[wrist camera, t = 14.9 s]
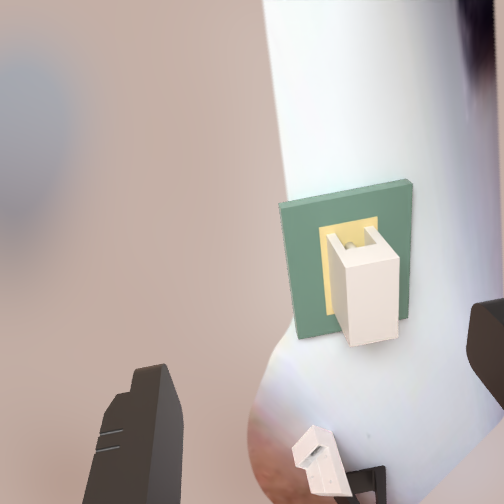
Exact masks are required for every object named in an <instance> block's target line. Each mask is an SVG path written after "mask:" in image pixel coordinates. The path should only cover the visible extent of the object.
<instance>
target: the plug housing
mask: <svg viewBox="0 0 504 504" xmlns="http://www.w3.org/2000/svg"><path fill="white" fill-rule="evenodd" d="M326 240H327V252H328V265H329V277H330V290H331V303H332V309H333V311H334V313H335V316H336V318H337V320H338V322H339V324H340V327H341V329H342V331H343V333H344V335H345V338H346V340H347V342H348V344H349V346H350V347H354V346H359V345H364V344H369V343H374V342H380V341H385V340H390V339H395V338H398V316H399V266H400V257H399V256H398V255H397V254H396V253H395V251H394V250H393V249H392V248H391V247H390V245H389V244H388V243H387V242H386V241H385V239H384V238H383V237H382V236H381V235H380V233H379V232H378V231H377V230H376V229H375V227H374V226H369V227H364V244H365V246H362V247H357V248H352V249H347V250H346V249H345V248H344V246H343V245H342V243H341V242H340V240H339V238H338V237H337V235H336V234H335V233H333V234H327V235H326Z"/></svg>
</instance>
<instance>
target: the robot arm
mask: <svg viewBox="0 0 504 504" xmlns="http://www.w3.org/2000/svg"><path fill="white" fill-rule="evenodd" d="M466 352H467V357H468V360H469V363H470V365H471V367H472V369H473V371H474V372H475V373H476V375H477V376H478V377H479V379H480V380H481V381H482V383H483V384H484V385H485V386H486V388H487V389H488V390H489V392H490V393H491V394H492V395H493V397H494V398H495V399H496V401H497V402H498V403H499V404H500V406H501V407H502V408H503V410H504V298H501V299H496V300H490V301H485V302H480V303H476V304H474V305H473V306H472V308H471V314H470V322H469V330H468V338H467V346H466ZM183 428H184V425H183V414H182V408H181V404H180V401H179V398H178V395H177V393H176V390H175V387H174V384H173V381H172V379H171V376H170V373H169V370H168V368H167V366H166V364H159V365H154V366H149V367H144V368H139V369H136V370H135V371H134V374H133V379H132V384H131V389H130V392H126V393H121V394H117V395H116V396H115V398H114V399H113V401H112V402H111V404H110V406H109V407H108V408H107V410H106V412H105V413H104V417H103V421H102V425H101V429H100V437H98V441H97V445H96V454H94V458H93V462H92V466H91V470H90V475H89V478H88V482H87V486H86V490H85V494H84V499H83V502H82V504H180V499H181V477H182V454H183V430H184V429H183Z"/></svg>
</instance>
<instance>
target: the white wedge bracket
mask: <svg viewBox="0 0 504 504" xmlns="http://www.w3.org/2000/svg"><path fill="white" fill-rule="evenodd" d="M292 451H293V456H294V461H295V465H296V467H299V468H302V469H306V473H307V478H308V482H309V486H310V491H311V493H313V494H316V495H320V496H351V497H353V496H352V493H351V490H350V486H349V483H348V480H347V477H346V474H345V471H344V467H343V464H342V461H341V458H340V455H339V452H338V448H337V445H336V442H335V439H334V436H333V433H332V431H329V430H326V429H323V428H320V427H317V426H315V425H313V426H312V427H311V428H310V429H309V430H308V431H307V432H306V433H305V434H304V435H303V436H302V438H301V439H300V440H299V441H298V442H297V443H296V444H295V445H294V446H293V447H292Z"/></svg>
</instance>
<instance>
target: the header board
mask: <svg viewBox="0 0 504 504" xmlns="http://www.w3.org/2000/svg"><path fill="white" fill-rule="evenodd" d="M412 185H413V184H412V183H411V182H410V181H408V180H407V179H403V180H398V181H393V182H388V183H382V184H377V185H372V186H367V187H361V188H356V189H351V190H346V191H340V192H335V193H330V194H325V195H320V196H314V197H309V198H304V199H299V200H293V201H288V202H283V203H279V211H280V218H281V226H282V233H283V240H284V247H285V255H286V262H287V269H288V276H289V283H290V291H291V297H292V305H293V312H294V319H295V327H296V333H297V336H298V339H304V338H309V337H314V336H319V335H324V334H329V333H334V332H340V331H342V329H341V327H340V324H339V322H338V320H337V318H336V316H335V313H334V311H333V309H332V303H331V290H330V277H329V265H328V252H327V240H326V235H327V234H333V233H335V234H336V235H337V237H338V238H339V240H340V242H341V243H342V245H343V246H344V248H345V249H346V250H347V249H352V248H357V247H362V246H365V244H364V227H369V226H374V227H375V229H376V230H377V231H378V232H379V233H380V235H381V236H382V237H383V238H384V239H385V241H386V242H387V243H388V244H389V245H390V247H391V248H392V249H393V250H394V251H395V253H396V254H397V255H398V256H399V257H400V266H399V316H398V320H401V319H406V318H408V304H409V274H410V244H411V215H412Z"/></svg>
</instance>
